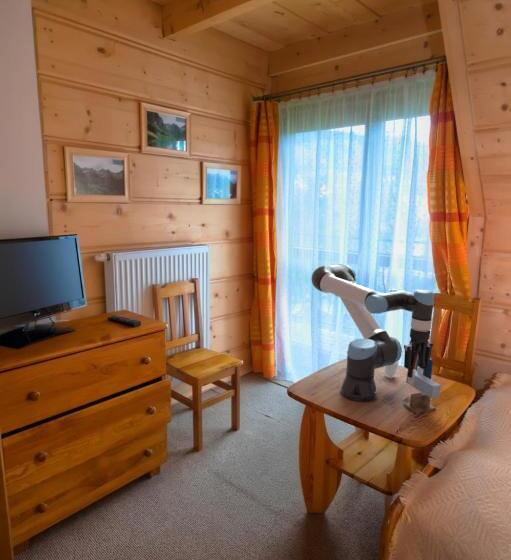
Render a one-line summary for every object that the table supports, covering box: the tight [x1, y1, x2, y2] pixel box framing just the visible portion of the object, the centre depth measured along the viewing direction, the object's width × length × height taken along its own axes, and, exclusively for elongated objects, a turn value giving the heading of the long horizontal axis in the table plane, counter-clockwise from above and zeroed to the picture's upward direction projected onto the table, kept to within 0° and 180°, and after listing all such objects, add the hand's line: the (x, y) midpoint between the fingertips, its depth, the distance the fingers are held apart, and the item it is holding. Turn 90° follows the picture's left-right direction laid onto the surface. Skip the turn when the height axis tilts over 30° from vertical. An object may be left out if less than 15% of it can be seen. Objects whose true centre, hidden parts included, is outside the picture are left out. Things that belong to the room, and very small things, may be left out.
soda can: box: [415, 356, 434, 380], centre depth 198 cm, size 7×7×12 cm
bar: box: [405, 370, 441, 399], centre depth 172 cm, size 4×14×5 cm, turn 23°
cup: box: [382, 360, 400, 379], centre depth 205 cm, size 7×10×8 cm
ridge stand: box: [403, 391, 437, 415], centre depth 173 cm, size 10×7×6 cm
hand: (414, 383), depth 176 cm, fingers closed on bar, 3 cm apart
